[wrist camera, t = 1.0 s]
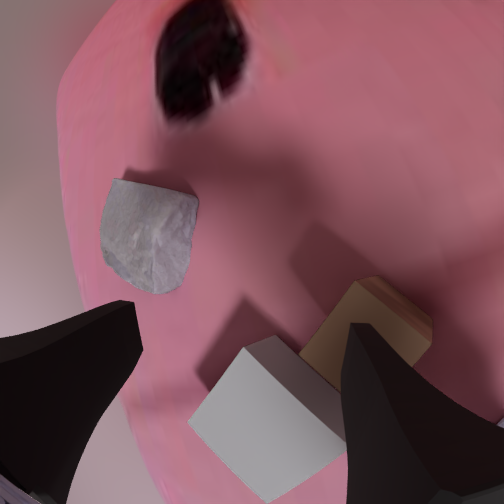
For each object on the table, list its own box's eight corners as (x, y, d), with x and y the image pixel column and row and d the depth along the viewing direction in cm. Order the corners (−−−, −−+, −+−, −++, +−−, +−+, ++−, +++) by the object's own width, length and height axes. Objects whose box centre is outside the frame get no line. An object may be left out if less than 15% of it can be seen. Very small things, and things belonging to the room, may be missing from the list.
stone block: (198, 296, 29) (206, 187, 26) (156, 310, 25) (160, 188, 22) (132, 260, 35) (134, 176, 33) (97, 268, 32) (97, 177, 29)
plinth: (367, 417, 18) (350, 447, 14) (292, 477, 20) (266, 503, 17) (275, 334, 22) (243, 346, 18) (219, 406, 24) (187, 422, 21)
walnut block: (432, 319, 16) (431, 343, 11) (387, 373, 17) (365, 414, 12) (378, 275, 18) (354, 280, 13) (336, 330, 19) (298, 354, 14)
